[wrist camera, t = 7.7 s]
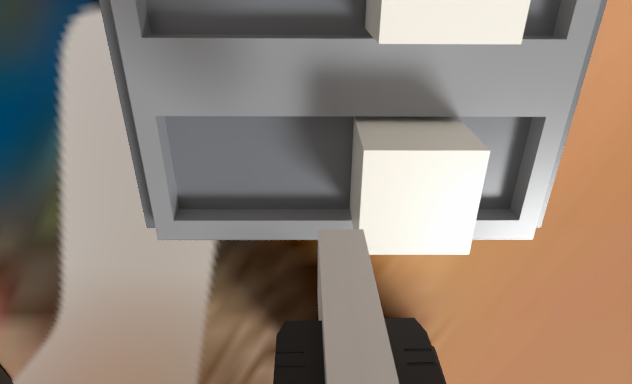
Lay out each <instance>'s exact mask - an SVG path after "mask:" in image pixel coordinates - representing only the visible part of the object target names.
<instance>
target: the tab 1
mask: <svg viewBox="0 0 632 384" xmlns="http://www.w3.org/2000/svg"><path fill="white" fill-rule="evenodd" d="M530 1H531V0H366V17H365V29H366V30H367V31H368V32H369V33H370V35H371V36H372V37H373V38H374V39H375V40H376V41H377V42H378V44H521V43H522V38H523V33H524V29H525V24H526V20H527V15H528V10H529V6H530Z"/></svg>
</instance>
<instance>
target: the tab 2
mask: <svg viewBox="0 0 632 384" xmlns="http://www.w3.org/2000/svg"><path fill="white" fill-rule="evenodd" d="M489 156H490V150H489V148H488V147H487V146H486V145H485V144H484V143H483V142H482V141H481V140H480V139H479V138H478V137H477V136H476V135H475V134H474V133H473V132H472V131H471V130H470V129H469V128H468V127H467V126H466V125H465V124H464V123H463V122H462V121H461V120H460V119H459V118H458V117H376V116H354V126H353V147H352V168H351V189H350V211H351V217H352V224H353V229H363V230H364V234H365V238H366V243H367V247H368V251H369V255H421V254H469V252H470V247H471V242H472V237H473V232H474V228H475V223H476V218H477V213H478V208H479V204H480V199H481V194H482V189H483V184H484V180H485V175H486V170H487V165H488V160H489Z"/></svg>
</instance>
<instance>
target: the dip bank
mask: <svg viewBox="0 0 632 384" xmlns="http://www.w3.org/2000/svg"><path fill="white" fill-rule="evenodd" d="M606 2H607V0H531V1H530V6H529V10H528V15H527V20H526V24H525V29H524V33H523V38H522V43H521V44H378V42H377V41H376V40H375V39H374V38H373V37H372V36H371V35H370V33H369V32H368V31H367V30H366V29H365V17H366V0H99V3H100V8H101V12H102V17H103V22H104V27H105V31H106V36H107V41H108V45H109V50H110V55H111V60H112V64H113V69H114V74H115V79H116V83H117V88H118V93H119V98H120V102H121V107H122V112H123V117H124V122H125V126H126V131H127V135H128V141H129V145H130V150H131V155H132V160H133V164H134V169H135V174H136V179H137V183H138V188H139V193H140V197H141V202H142V207H143V212H144V216H145V221H146V226H147V228H156V232H157V237H158V240H318V230H343V229H353V224H352V217H351V211H350V189H351V168H352V147H353V126H354V116H376V117H458V118H459V119H460V120H461V121H462V122H463V123H464V124H465V125H466V126H467V127H468V128H469V129H470V130H471V131H472V132H473V133H474V134H475V135H476V136H477V137H478V138H479V139H480V140H481V141H482V142H483V143H484V144H485V145H486V146H487V147H488V148H489V150H490V156H489V160H488V165H487V170H486V175H485V180H484V184H483V189H482V194H481V199H480V204H479V208H478V213H477V218H476V223H475V228H474V232H473V237H472V240H533V237H534V233H535V230H536V228H541V224H542V221H543V217H544V214H545V211H546V207H547V204H548V200H549V197H550V194H551V190H552V187H553V183H554V180H555V176H556V173H557V170H558V166H559V163H560V159H561V156H562V153H563V149H564V146H565V142H566V139H567V136H568V132H569V129H570V125H571V122H572V118H573V115H574V112H575V108H576V105H577V101H578V98H579V95H580V91H581V88H582V84H583V81H584V77H585V74H586V71H587V67H588V64H589V60H590V57H591V54H592V50H593V47H594V43H595V40H596V36H597V33H598V30H599V26H600V23H601V19H602V16H603V13H604V9H605V6H606Z"/></svg>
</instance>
